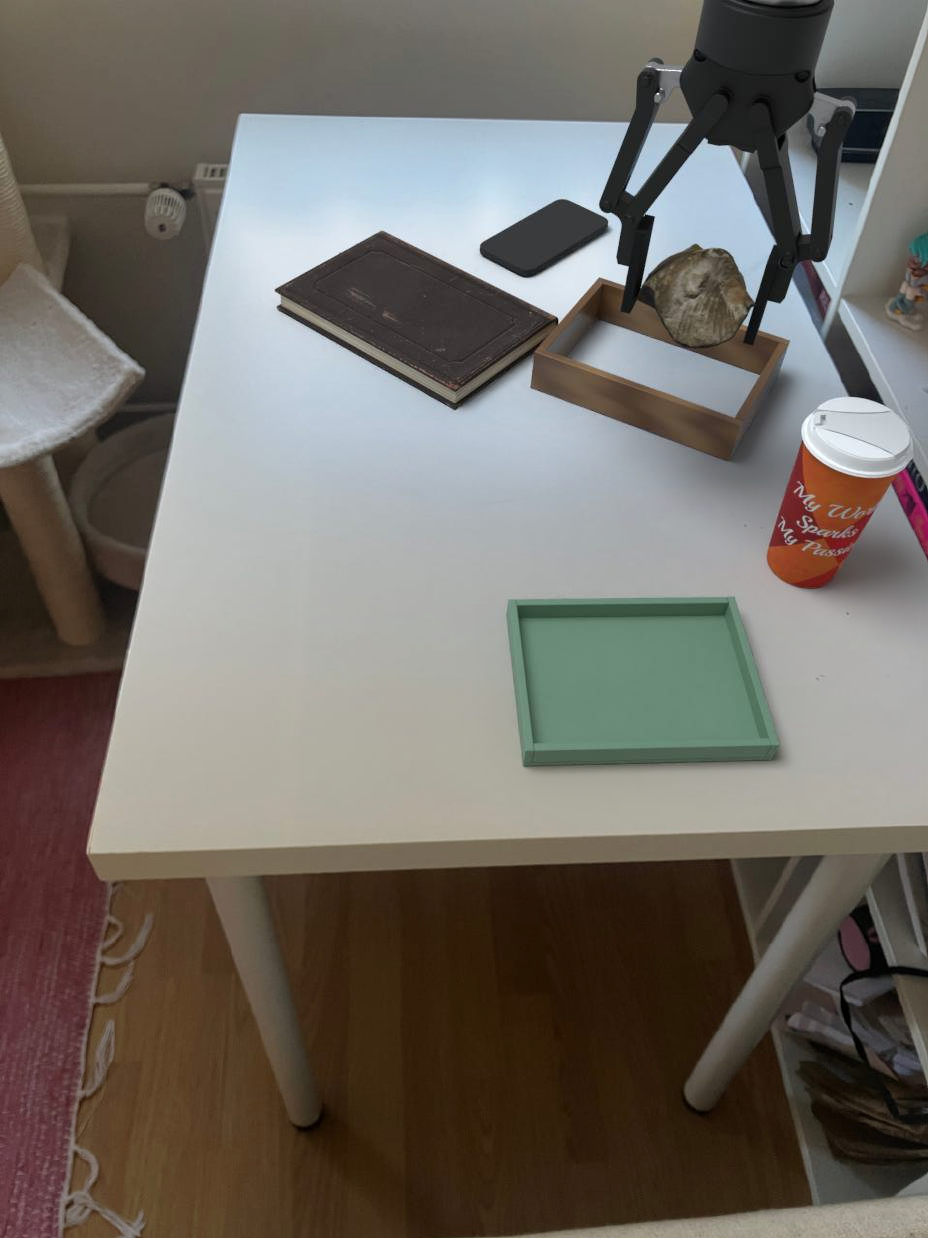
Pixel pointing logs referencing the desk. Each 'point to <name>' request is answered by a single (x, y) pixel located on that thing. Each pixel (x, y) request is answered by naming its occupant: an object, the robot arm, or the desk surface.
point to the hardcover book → (417, 316)
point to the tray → (636, 682)
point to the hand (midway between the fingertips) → (689, 318)
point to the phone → (543, 237)
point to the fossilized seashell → (698, 296)
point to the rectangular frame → (644, 402)
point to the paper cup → (835, 487)
